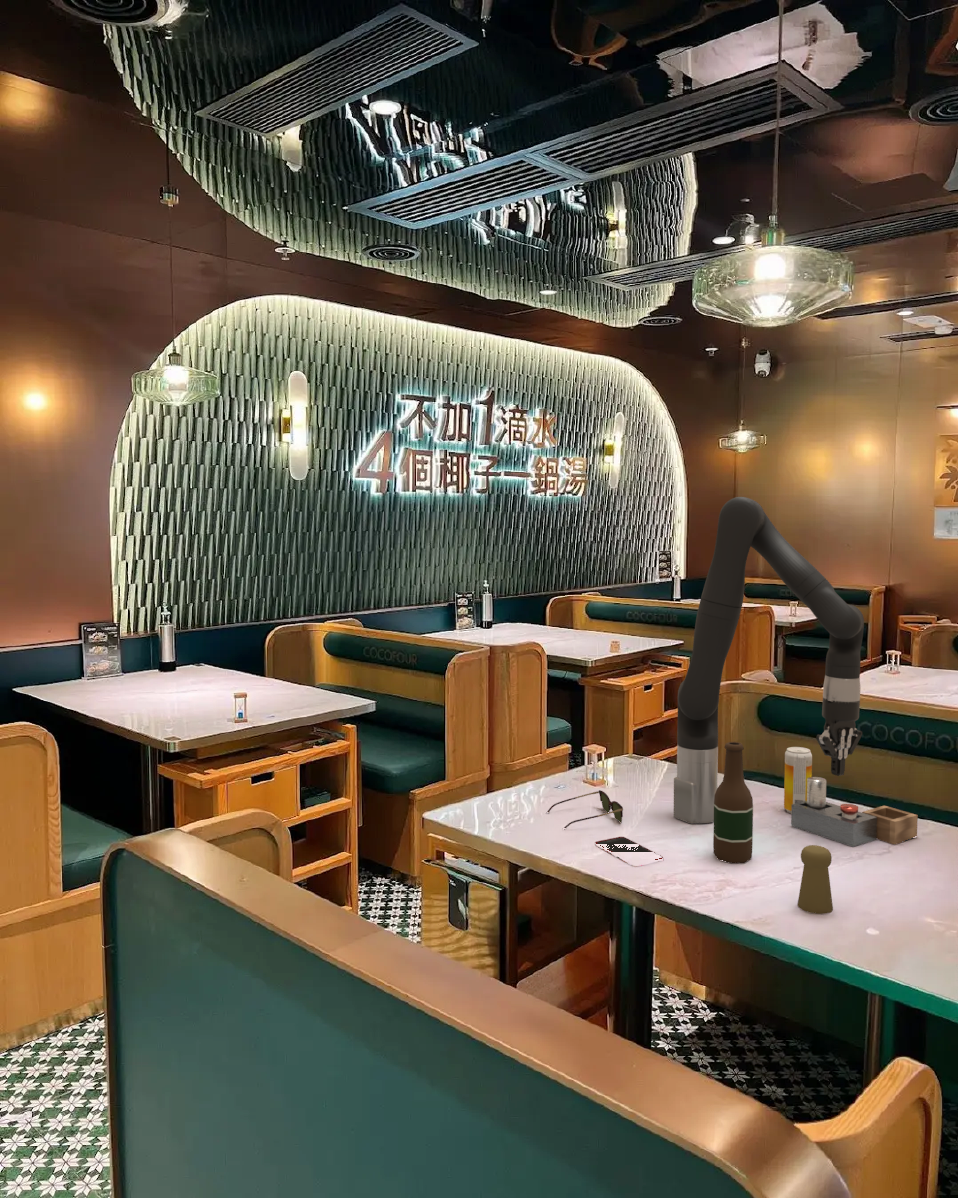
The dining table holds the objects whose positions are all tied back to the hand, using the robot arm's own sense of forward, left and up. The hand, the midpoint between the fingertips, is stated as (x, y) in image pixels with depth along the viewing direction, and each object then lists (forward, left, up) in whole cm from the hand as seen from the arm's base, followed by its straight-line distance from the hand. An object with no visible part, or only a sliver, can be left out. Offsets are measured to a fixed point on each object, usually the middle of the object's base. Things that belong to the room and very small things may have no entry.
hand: (837, 774), depth 200 cm
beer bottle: (-29, +3, -14) cm, 32 cm away
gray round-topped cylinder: (+1, +6, -14) cm, 15 cm away
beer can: (+6, +15, -14) cm, 21 cm away
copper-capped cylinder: (+1, -3, -13) cm, 13 cm away
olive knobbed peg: (-35, -22, -14) cm, 43 cm away
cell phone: (-45, +17, -14) cm, 50 cm away
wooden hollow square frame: (+9, -7, -14) cm, 18 cm away
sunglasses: (-39, +39, -14) cm, 58 cm away
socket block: (+1, +1, -14) cm, 14 cm away
